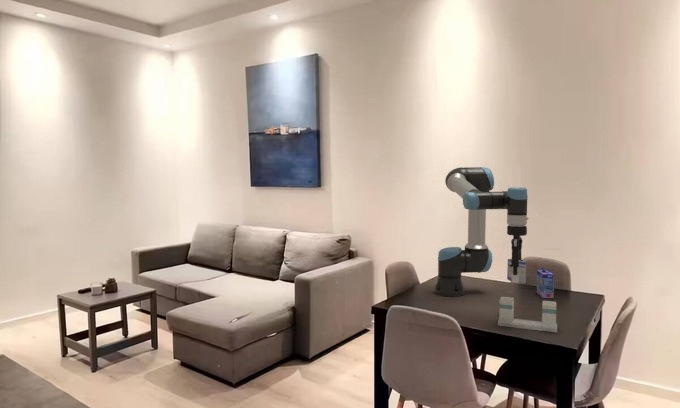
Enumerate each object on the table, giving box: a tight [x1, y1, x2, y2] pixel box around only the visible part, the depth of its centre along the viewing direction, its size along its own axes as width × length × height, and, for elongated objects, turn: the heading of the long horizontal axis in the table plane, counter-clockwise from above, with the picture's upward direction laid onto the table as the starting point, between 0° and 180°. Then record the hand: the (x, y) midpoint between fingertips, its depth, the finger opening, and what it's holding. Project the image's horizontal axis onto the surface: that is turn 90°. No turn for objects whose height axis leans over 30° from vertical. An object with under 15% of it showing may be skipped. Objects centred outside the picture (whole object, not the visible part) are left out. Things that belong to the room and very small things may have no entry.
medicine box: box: [506, 258, 527, 284], centre depth 189 cm, size 8×4×9 cm, turn 3°
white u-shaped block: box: [497, 296, 558, 334], centre depth 188 cm, size 22×8×10 cm, turn 66°
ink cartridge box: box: [536, 266, 555, 299], centre depth 233 cm, size 10×6×14 cm, turn 174°
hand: (516, 280), depth 189 cm, fingers closed on medicine box, 9 cm apart
